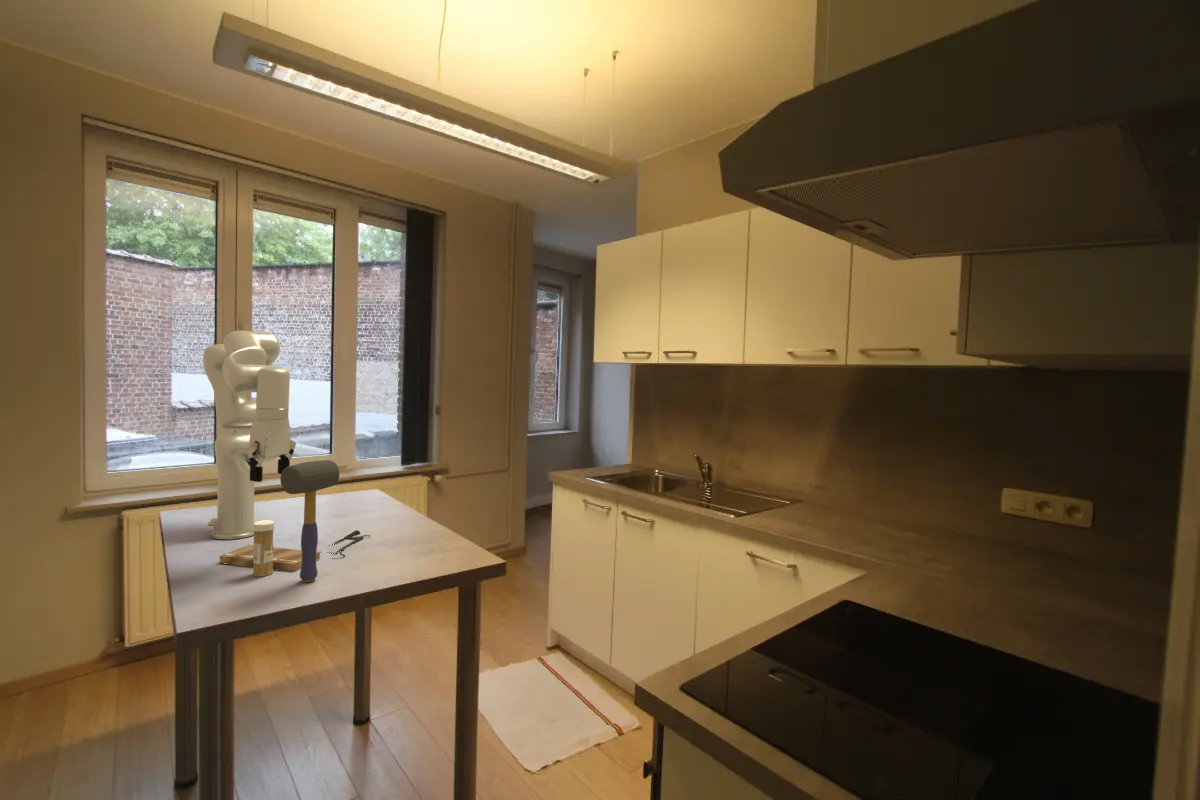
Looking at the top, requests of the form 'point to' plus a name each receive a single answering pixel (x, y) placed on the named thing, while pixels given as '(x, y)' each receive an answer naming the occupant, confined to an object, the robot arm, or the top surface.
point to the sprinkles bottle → (263, 548)
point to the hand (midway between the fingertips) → (270, 477)
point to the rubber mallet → (309, 504)
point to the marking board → (281, 558)
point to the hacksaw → (349, 543)
